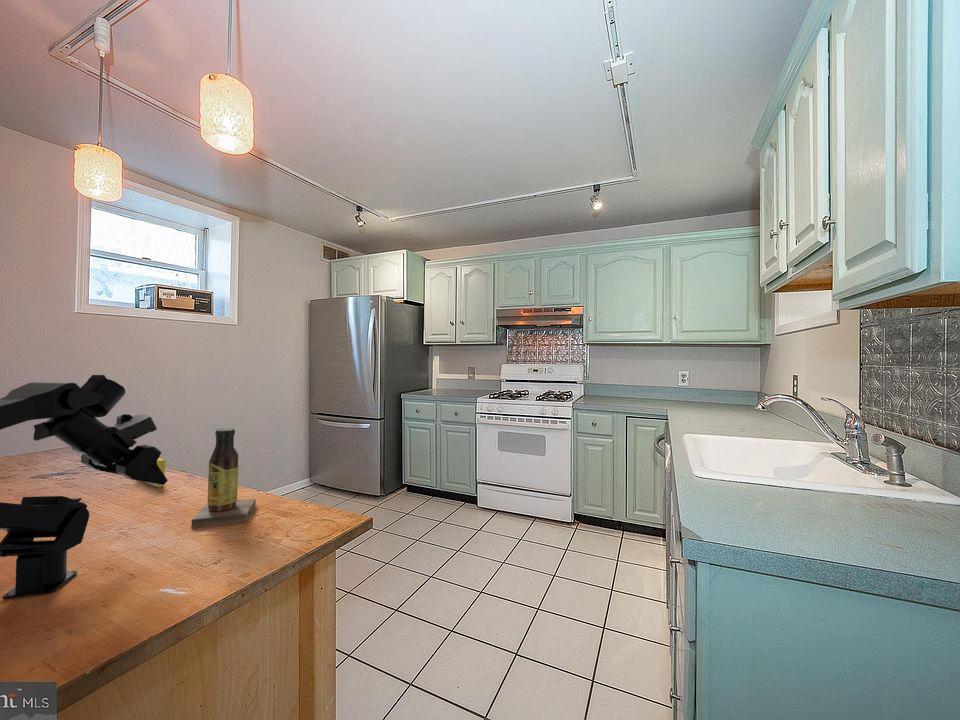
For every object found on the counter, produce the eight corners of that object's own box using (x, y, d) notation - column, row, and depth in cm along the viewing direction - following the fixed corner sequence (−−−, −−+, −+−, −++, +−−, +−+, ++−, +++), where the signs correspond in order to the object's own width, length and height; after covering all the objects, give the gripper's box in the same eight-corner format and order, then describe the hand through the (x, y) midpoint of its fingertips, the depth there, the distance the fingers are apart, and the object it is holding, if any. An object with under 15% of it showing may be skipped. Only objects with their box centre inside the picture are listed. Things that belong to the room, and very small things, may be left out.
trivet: (245, 522, 94) (245, 514, 94) (191, 528, 90) (191, 519, 90) (255, 506, 104) (255, 498, 104) (207, 510, 101) (207, 503, 101)
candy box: (165, 486, 119) (166, 459, 119) (156, 488, 117) (157, 460, 117) (144, 477, 128) (145, 452, 128) (136, 479, 126) (137, 453, 126)
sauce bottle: (204, 507, 97) (206, 428, 97) (233, 501, 102) (234, 425, 102) (211, 515, 93) (213, 431, 93) (240, 508, 97) (242, 429, 97)
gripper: (151, 405, 75) (209, 452, 85) (103, 400, 83) (161, 444, 93) (95, 454, 68) (165, 499, 77) (49, 443, 76) (118, 485, 85)
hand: (153, 479), depth 83 cm, fingers open, 9 cm apart
